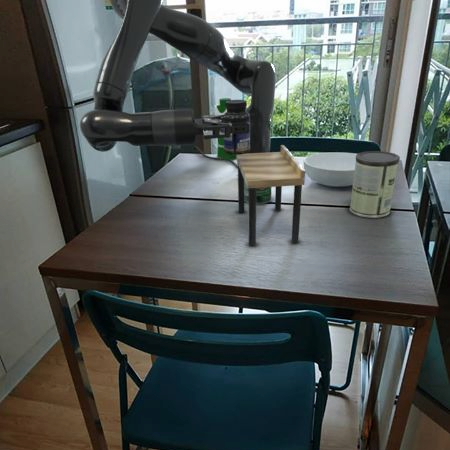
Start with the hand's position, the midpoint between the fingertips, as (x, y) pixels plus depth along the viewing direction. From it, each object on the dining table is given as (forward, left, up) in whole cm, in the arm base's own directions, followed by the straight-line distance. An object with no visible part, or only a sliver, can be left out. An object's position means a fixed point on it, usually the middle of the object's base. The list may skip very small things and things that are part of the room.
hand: (247, 124), depth 100 cm
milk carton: (-43, +46, -23) cm, 67 cm away
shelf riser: (+6, 0, -23) cm, 24 cm away
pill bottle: (-2, -2, -6) cm, 7 cm away
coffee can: (+22, +24, -23) cm, 40 cm away
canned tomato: (-7, +14, -23) cm, 28 cm away
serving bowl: (+4, +40, -23) cm, 46 cm away
